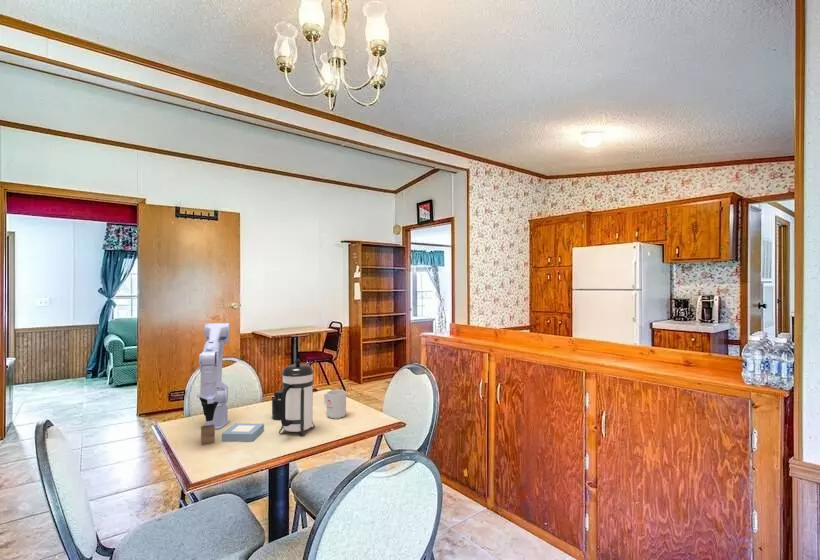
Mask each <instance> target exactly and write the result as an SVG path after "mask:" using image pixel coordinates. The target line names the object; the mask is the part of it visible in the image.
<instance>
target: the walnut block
mask: <svg viewBox="0 0 820 560" xmlns="http://www.w3.org/2000/svg"><path fill="white" fill-rule="evenodd" d="M204 425H205V426H204ZM204 425H201V426H200V443H201V446H207V445H212V444H213V445H214V444H215V441H216V440H215V439H216V438H215V436H216V435H215V434H216V432H215V431H216V429H215V427H214V424H212V425H206V424H204Z"/></svg>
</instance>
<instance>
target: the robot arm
mask: <svg viewBox="0 0 820 560" xmlns="http://www.w3.org/2000/svg"><path fill="white" fill-rule="evenodd" d="M230 325H231V324H230V323H229V322H224V323H223V322H219V323H215V322H214V323H213V322H212V323H208V322H206V323H205V324H204V328H203V329H204V333H203V334H204V337H205V341H206V342H205V343H204V345H203V350H202V352H200V353H199V355H198V364H199V372H200V386H199V387H200V393H199V394H197V395H196V398H197V399H198V398H199V401H200V403H201V407H202V410H203V415H204V416H205V424H204V425H203V426H205V425H212V424H214V427H215V430H221V429H222V428H223V427H225V426H226V425H227V424H229V423H230V420H229V419H228V418H229V417H228V416H229V415H228V409H229V408H228V405H227V403H228V401H229V386H228V385H227V384H226V383H225V382H223V381H222V375H223V359H224V358H223V357H224V347H225V344H227V343H229V340H230V333H231V326H230Z"/></svg>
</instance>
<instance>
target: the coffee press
mask: <svg viewBox="0 0 820 560" xmlns="http://www.w3.org/2000/svg"><path fill="white" fill-rule="evenodd" d="M314 371H315V370H314V369H313V368H312V366H311V365H309V364H306V363H301V359H300V358H297V359H295V361H294V364H289V365H287V366H285V367H284V368H283V370H282V371H281V375H282V381H281V382H282V383H281V386H282V388H281V390H282V395H281V420H280V422H281V427H280V429H279V431H278V433H279V434H280V435H281V434H282V435H284V433H285V432H291V433H292V432H293V433H299V435H300V437H305V436H306V435H305V431H306V430H308V429H310V428H311V429H313V428H314V429H315V428H316V426H315V423H313V402H314V401H313V400H314V399H313V397H314V395H313V393H314V392H313V391H314V387H313V385H314V378H313V377H314V375H313V374H314ZM312 425H313V426H312ZM282 430H283V431H282ZM281 431H282V432H281Z"/></svg>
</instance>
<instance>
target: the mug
mask: <svg viewBox="0 0 820 560" xmlns="http://www.w3.org/2000/svg"><path fill="white" fill-rule="evenodd" d="M323 403H324V404H323V405H324V407H325V408H326V416H327V417H328V418H329V419H331V418H339V419H342V418H341V417H343V418H344V417H345V416H346V414H347V391H346V390H342V389H332V390H328V391H327V392H326V393H323Z"/></svg>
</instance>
